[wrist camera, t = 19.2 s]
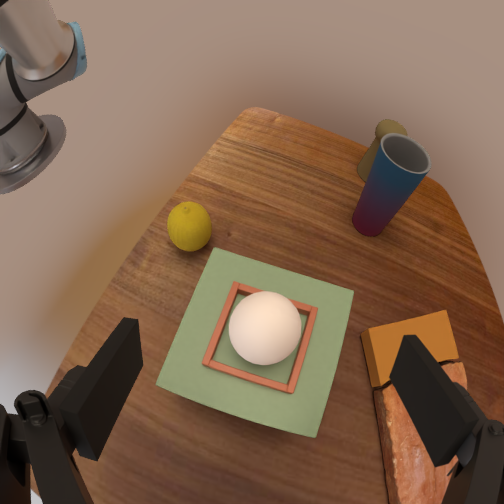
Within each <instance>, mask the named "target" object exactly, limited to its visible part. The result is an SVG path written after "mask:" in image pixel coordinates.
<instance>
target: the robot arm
mask: <svg viewBox="0 0 504 504" xmlns="http://www.w3.org/2000/svg"><path fill="white" fill-rule="evenodd" d="M0 47H1V48H2V49H0V175H7V174H10V173H13V172H15V171H17V170H19V169H21V168H22V167H24V166H25V165H26V164H28V163H29V162H30V161H31V160H32V159H33V158H34V157H35V156H36V155H37V154H38V153H39V152H40V151H41V149H42V148H43V146H44V145H45V143H46V141H47V139H48V134H49V132H48V129H47V127H46V125H45V123H44V122H43V121H42V120H41V119H40V118H39V117H38V116H37V115H36V114H35V113H34V112H32V111H31V110H30V109H29V108H28V106H27V104H26V102H27V101H29V100H30V99H32V98H34V97H36V96H38V95H40V94H42V93H44V92H46V91H48V90H50V89H52V88H54V87H56V86H58V85H60V84H63V83H65V82H67V81H71V80H73V79H75V78H76V77H78V76H80V75H82V74H83V73H84V72H85V71H86V68H87V59H86V55H85V46H84V41H83V36H82V32H81V29H80V26H79V24H78V23H77V22H72V23H65V22H63V21H60V20H57V19H56V16H55V14H54V12H53V9H52V7H51V5H50V2H49V0H0ZM6 52H7V54H6ZM142 367H143V358H142V350H141V342H140V333H139V323H138V319H132V318H125V317H124V318H123V319H122V320H121V322H120V323H119V324H118V326H117V327H116V328H115V330H114V331H113V332H112V333H111V335H110V336H109V337H108V339H107V340H106V341H105V343H104V344H103V346H102V347H101V348H100V350H99V351H98V352H97V354H96V355H95V356H94V358H93V359H92V360H91V362H90V363H89V365H88V366H87V367H83V366H79V365H77V366H76V367H74V368H73V369H71V370H69V371H68V372H67V374H66V375H65V376H64V378H63V380H61V382H60V383H59V384H58V386H57V387H56V388H55V390H54V391H53V392H52V394H51V395H50V396H49V398H48V399H46V397H45V395H44V394H43V393H41V392H39V391H36V390H28V391H25V392H22V393H21V394H20V395H18V397H17V398H16V399H15V402H14V407H15V408H16V411H17V413H18V415H16V414H8V413H7V412H6V410H5V408H4V406H3V405H1V404H0V504H31V490H30V464H31V465H32V469H33V473H34V477H35V480H36V483H37V487H38V490H39V493H40V496H41V499H42V502H43V504H94V502H93V500H92V498H91V496H90V494H89V492H88V490H87V488H86V485H85V483H84V481H83V479H82V476H81V474H80V472H79V469H78V467H77V464H76V462H75V459H74V457H73V455H72V454H73V452H74V450H75V448H76V449H77V451H78V453H79V455H80V456H82V457H85V458H88V459H91V460H94V461H98V459H99V457H100V455H101V452H102V450H103V448H104V446H105V444H106V441H107V439H108V437H109V435H110V433H111V431H112V428H113V426H114V424H115V422H116V420H117V418H118V416H119V414H120V412H121V409H122V407H123V405H124V403H125V401H126V399H127V397H128V395H129V393H130V391H131V389H132V387H133V385H134V383H135V381H136V379H137V377H138V375H139V373H140V371H141V369H142ZM389 378H390V380H391V382H392V384H393V386H394V387H395V389H396V391H397V393H398V395H399V397H400V399H401V401H402V403H403V405H404V406H405V408H406V410H407V412H408V414H409V416H410V418H411V420H412V422H413V424H414V426H415V428H416V430H417V432H418V434H419V436H420V438H421V440H422V442H423V444H424V446H425V448H426V450H427V452H428V454H429V456H430V459H431V461H432V463H433V465H434V467H439V466H443V465H446V464H449V463H450V461H451V460H452V459H453V457H454V456H455V455H456V456H457V458H458V461H457V462H456V464H455V465H454V466H453V468H452V469H451V470H450V471H449V473H448V474H447V476H449V475H450V474H451V473H452V475H451V478H450V481H449V484H448V487H447V489H446V492H445V495H444V497H443V500H442V503H441V504H504V425H503V424H502V423H501V422H499V421H497V420H488V419H487V418H486V416H485V415H484V413H483V412H482V411H481V409H480V408H479V407H478V405H477V404H476V402H475V401H474V400H473V398H472V397H471V396H469V395H470V394H469V393H468V392H467V390H466V389H465V388H464V387H463V386H462V385H460V384H459V383H457V382H452V380H451V379H450V378H449V376H448V375H447V374H446V372H445V371H444V370H443V368H442V367H441V366H440V364H439V363H438V362H437V361H436V359H435V358H434V357H433V355H432V354H431V353H430V352H429V350H428V349H427V348H426V347H425V345H424V344H423V343H422V342H421V340H420V339H419V338H418V337H417V335H416V334H415V335H403V338H402V341H401V345H400V348H399V351H398V353H397V356H396V359H395V362H394V365H393V368H392V370H391V373H390V376H389Z"/></svg>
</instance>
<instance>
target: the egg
mask: <svg viewBox="0 0 504 504" xmlns="http://www.w3.org/2000/svg"><path fill="white" fill-rule="evenodd" d="M229 336H230V341H231V343H232V345H233V347H234V349H235V350H236V352H237V353H238V354H239V355H240V356H241V357H243V358H244V359H245V360H247V361H249V362H251V363H253V364H259V365H270V364H274V363H278V362H280V361H282V360H283V359H285V358H286V357H288V356H289V355H290V354H291V353H292V352H293V350H294V349H295V347H296V346H297V344H298V341H299V339H300V336H301V319H300V315H299V313H298V310H297V308H296V307H295V306H294V305H293V303H292V302H291V301H290V300H288V299H287V298H286V297H284V296H283V295H280V294H278V293H275V292H269V291H262V292H257V293H253V294H251V295H249V296H247V297H245V298H244V299H242V300H241V301H240V303H239V304H238V305H237V306H236V307H235V309H234V311H233V313H232V315H231V317H230V322H229Z"/></svg>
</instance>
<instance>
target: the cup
mask: <svg viewBox="0 0 504 504" xmlns="http://www.w3.org/2000/svg"><path fill="white" fill-rule="evenodd" d="M430 168H431V159H430V156H429V155H428V153H427V151H426V150H425V149H424V148H423V147H422V146H421V145H420V144H419V143H418V142H416V141H415V140H413V139H411V138H410V137H408V136H405V135H402V134H398V133H389V134H386V135H385V136H383V137H382V139H381V142H380V145H379V148H378V151H377V153H376V156H375V159H374V162H373V164H372V167H371V170H370V173H369V175H368V178H367V181H366V183H365V186H364V189H363V191H362V194H361V196H360V199H359V202H358V204H357V207H356V209H355V212H354V214H353V218H352V220H353V224H354V226H355V228H356V229H357V230H358V231H359V232H360V233H362V234H364V235H366V236H376V235H378V234H379V233H380V232H381V231H382V230H383V229H384V228H385V226H386V225H387V224H388V223H389V221H390V220H391V219H392V218H393V217H394V215H395V214H396V213H397V212H398V210H399V209H400V208H401V207H402V205H403V204H404V203H405V201H406V200H407V199H408V198H409V196H410V195H411V194H412V192H413V191H414V190H415V189H416V187H417V186H418V185H419V183H420V182H421V181H422V179H423V178H424V177H425V175H426V174H427V173H428V171H429V170H430Z"/></svg>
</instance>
